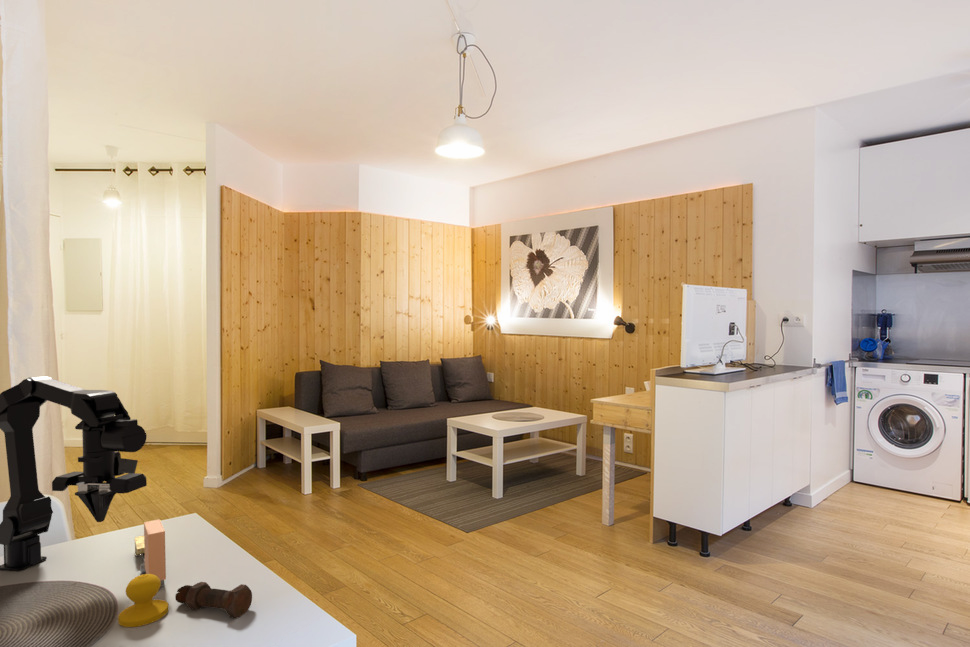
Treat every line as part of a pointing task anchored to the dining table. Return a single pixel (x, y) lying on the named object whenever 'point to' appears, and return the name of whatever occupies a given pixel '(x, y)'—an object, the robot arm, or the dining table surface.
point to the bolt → (216, 598)
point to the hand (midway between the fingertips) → (100, 521)
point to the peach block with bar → (154, 550)
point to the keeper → (139, 545)
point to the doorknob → (143, 602)
